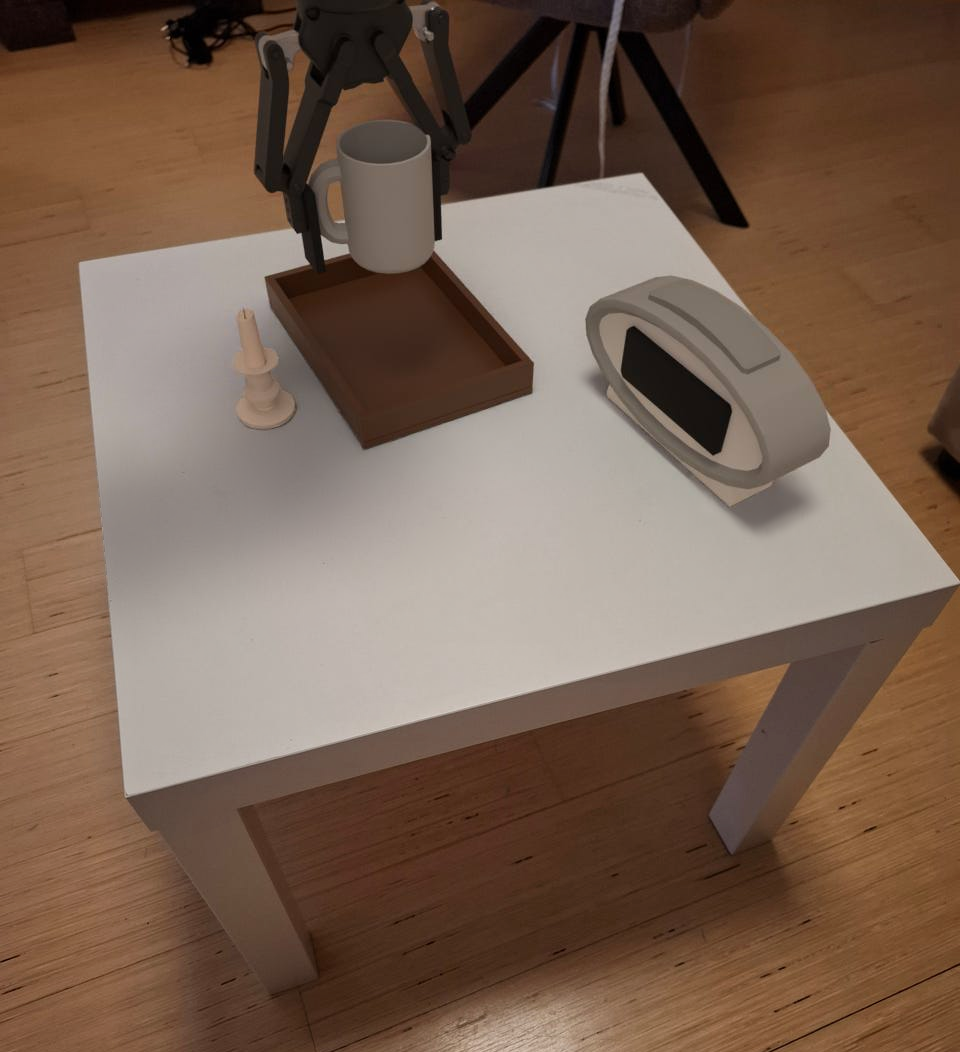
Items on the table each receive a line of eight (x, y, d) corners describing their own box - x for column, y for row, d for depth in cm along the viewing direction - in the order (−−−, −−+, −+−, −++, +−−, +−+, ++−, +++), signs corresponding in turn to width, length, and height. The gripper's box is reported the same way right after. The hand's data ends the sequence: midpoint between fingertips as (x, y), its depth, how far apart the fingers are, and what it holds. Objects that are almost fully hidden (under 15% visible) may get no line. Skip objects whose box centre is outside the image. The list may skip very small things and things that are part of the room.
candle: (244, 435, 82) (218, 333, 74) (231, 399, 85) (204, 297, 76) (302, 421, 83) (283, 318, 75) (287, 386, 86) (267, 283, 78)
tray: (270, 306, 93) (263, 276, 91) (421, 263, 98) (419, 233, 95) (364, 450, 81) (360, 419, 78) (532, 393, 85) (534, 362, 83)
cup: (442, 270, 77) (438, 160, 70) (320, 284, 76) (303, 174, 68) (426, 223, 81) (422, 115, 74) (311, 236, 80) (294, 128, 73)
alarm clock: (577, 379, 87) (590, 251, 76) (630, 357, 89) (650, 229, 78) (748, 535, 75) (791, 408, 65) (805, 506, 77) (855, 378, 67)
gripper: (192, -25, 55) (261, 308, 73) (524, -84, 62) (513, 236, 80) (156, -65, 59) (230, 260, 77) (472, -117, 66) (473, 195, 83)
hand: (374, 248), depth 78 cm, fingers closed on cup, 10 cm apart
